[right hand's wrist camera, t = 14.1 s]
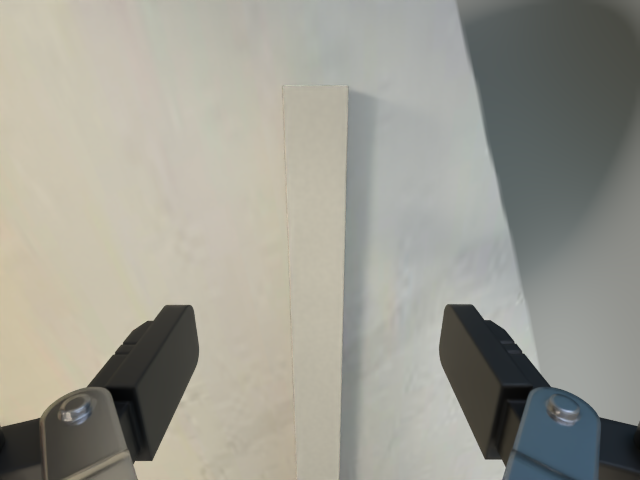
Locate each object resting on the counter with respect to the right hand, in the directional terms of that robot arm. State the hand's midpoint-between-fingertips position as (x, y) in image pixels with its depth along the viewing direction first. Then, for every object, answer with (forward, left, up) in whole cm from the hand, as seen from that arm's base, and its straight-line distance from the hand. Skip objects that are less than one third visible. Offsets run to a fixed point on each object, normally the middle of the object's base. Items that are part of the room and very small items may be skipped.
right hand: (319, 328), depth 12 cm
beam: (+8, -25, -25) cm, 36 cm away
